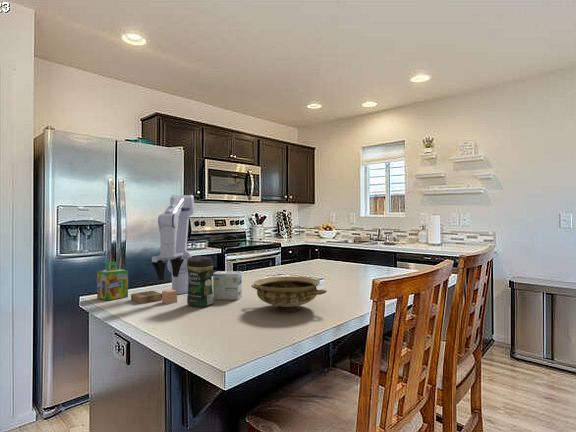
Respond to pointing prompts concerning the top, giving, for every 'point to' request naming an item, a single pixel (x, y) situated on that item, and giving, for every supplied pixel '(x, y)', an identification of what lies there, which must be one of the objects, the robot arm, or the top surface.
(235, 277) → the light bulb box
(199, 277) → the coffee jar
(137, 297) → the walnut slab
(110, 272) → the chalk box
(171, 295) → the terracotta block
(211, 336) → the top surface
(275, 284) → the ceramic bowl
